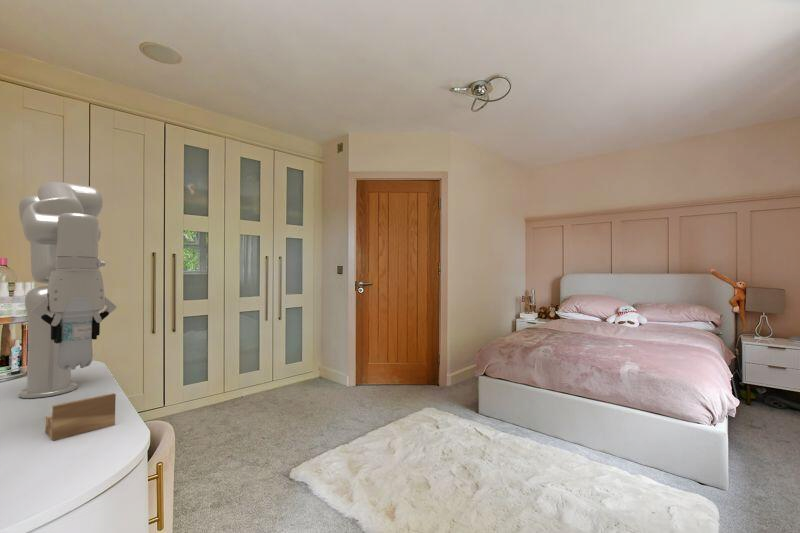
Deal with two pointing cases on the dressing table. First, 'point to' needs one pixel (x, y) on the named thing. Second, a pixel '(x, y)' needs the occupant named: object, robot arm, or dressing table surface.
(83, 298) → the bottle
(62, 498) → the dressing table surface
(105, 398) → the wooden u-shaped piece
